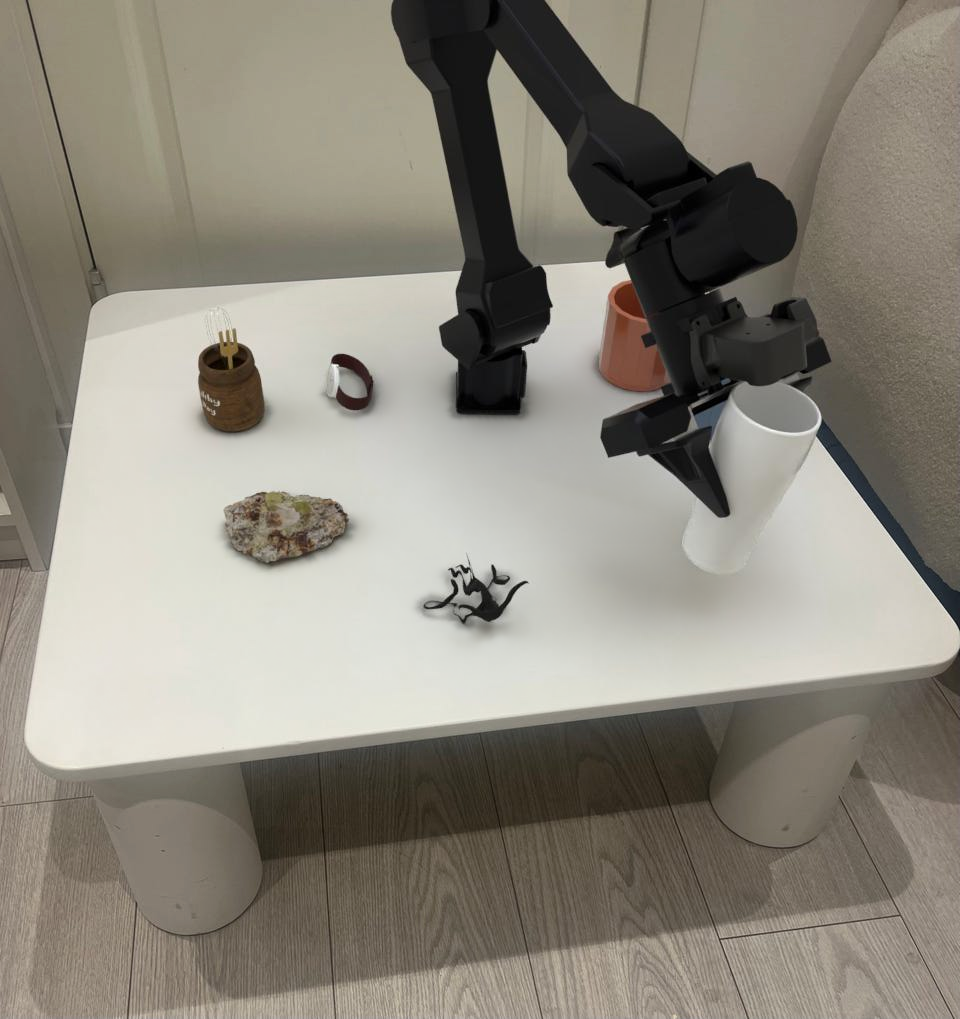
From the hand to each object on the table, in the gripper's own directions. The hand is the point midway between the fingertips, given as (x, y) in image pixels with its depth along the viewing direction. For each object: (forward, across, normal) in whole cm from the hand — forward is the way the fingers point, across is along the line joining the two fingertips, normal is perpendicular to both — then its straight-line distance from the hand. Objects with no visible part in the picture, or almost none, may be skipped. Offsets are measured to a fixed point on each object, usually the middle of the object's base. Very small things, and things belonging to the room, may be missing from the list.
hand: (757, 499), depth 76 cm
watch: (-20, -12, +38) cm, 45 cm away
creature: (+1, -18, +17) cm, 25 cm away
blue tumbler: (-4, +16, +22) cm, 28 cm away
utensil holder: (-22, -23, +41) cm, 52 cm away
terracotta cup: (-12, +16, +29) cm, 35 cm away
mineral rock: (-10, -26, +28) cm, 40 cm away
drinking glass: (+4, -1, +6) cm, 8 cm away
